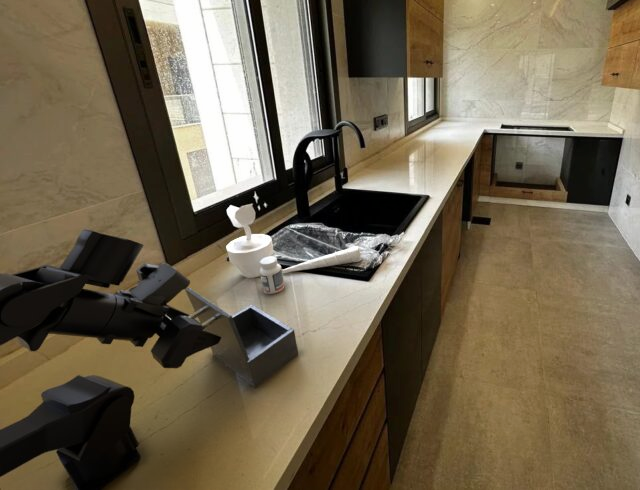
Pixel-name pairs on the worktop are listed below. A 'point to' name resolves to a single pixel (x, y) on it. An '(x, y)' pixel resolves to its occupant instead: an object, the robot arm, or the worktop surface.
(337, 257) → the unicorn horn
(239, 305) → the worktop surface
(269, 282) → the pill bottle
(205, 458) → the worktop surface
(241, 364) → the box
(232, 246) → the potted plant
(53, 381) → the worktop surface
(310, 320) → the worktop surface
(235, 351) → the freezer lid
